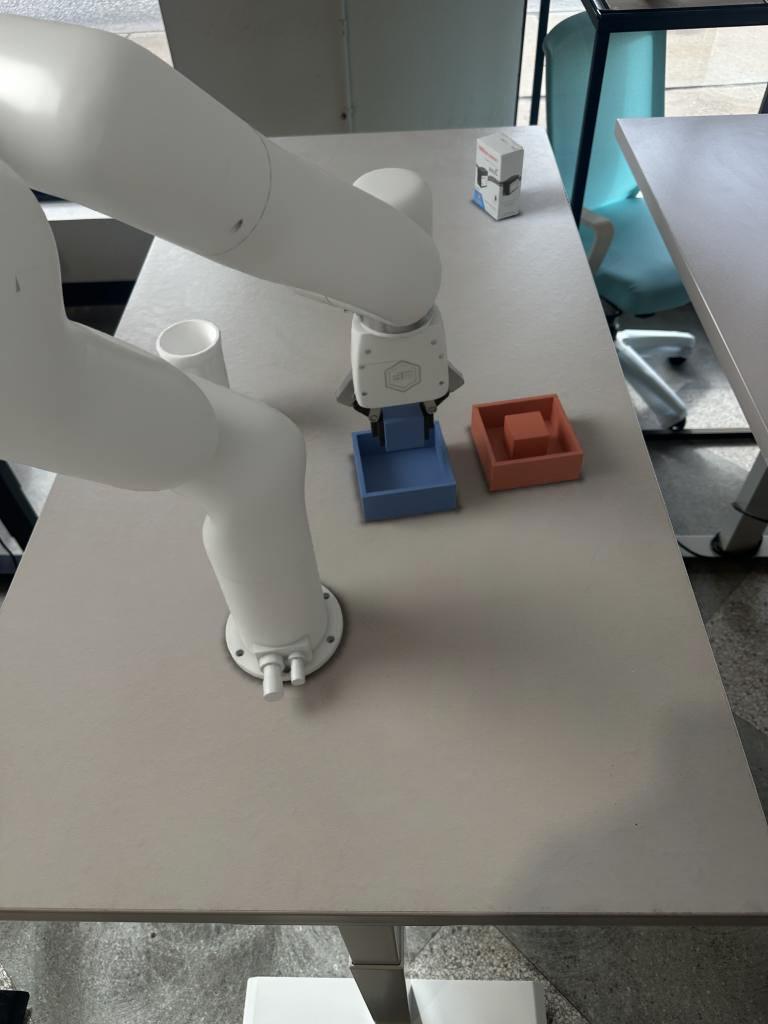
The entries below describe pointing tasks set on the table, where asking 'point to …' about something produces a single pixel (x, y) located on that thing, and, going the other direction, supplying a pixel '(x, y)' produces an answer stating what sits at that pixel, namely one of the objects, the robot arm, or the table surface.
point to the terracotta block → (525, 436)
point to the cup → (195, 349)
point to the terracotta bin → (528, 471)
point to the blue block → (403, 426)
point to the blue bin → (403, 477)
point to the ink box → (498, 175)
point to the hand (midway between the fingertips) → (402, 433)
